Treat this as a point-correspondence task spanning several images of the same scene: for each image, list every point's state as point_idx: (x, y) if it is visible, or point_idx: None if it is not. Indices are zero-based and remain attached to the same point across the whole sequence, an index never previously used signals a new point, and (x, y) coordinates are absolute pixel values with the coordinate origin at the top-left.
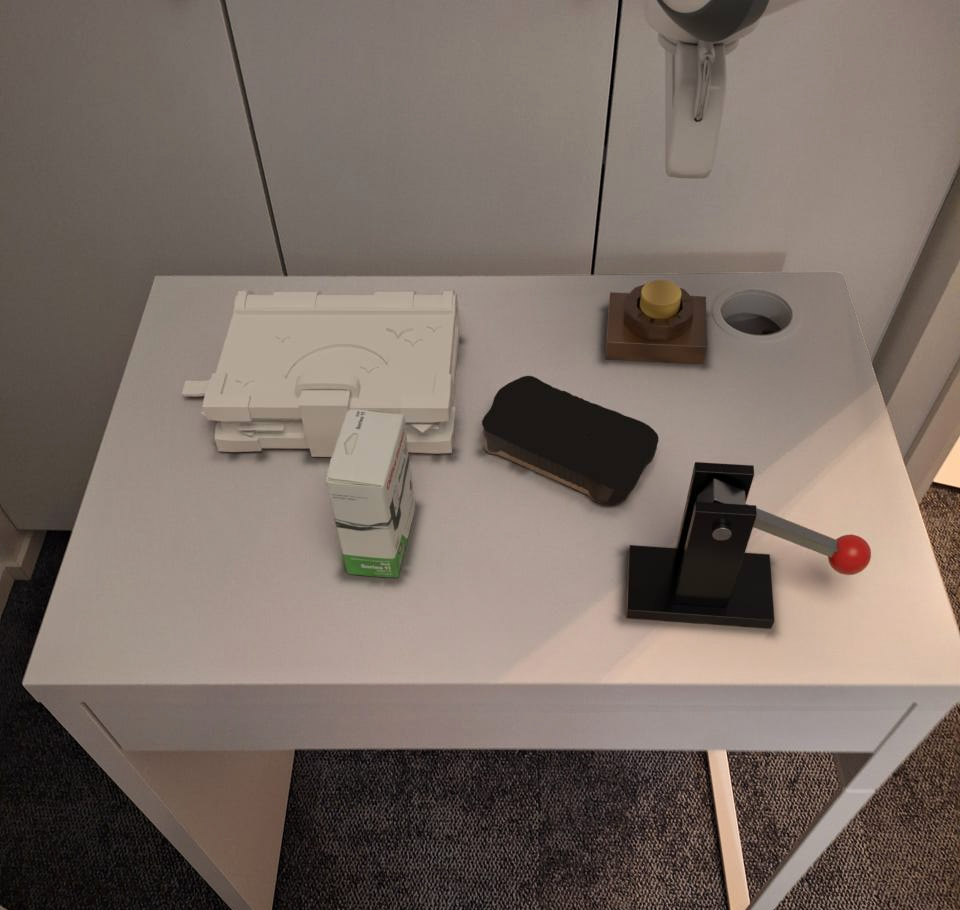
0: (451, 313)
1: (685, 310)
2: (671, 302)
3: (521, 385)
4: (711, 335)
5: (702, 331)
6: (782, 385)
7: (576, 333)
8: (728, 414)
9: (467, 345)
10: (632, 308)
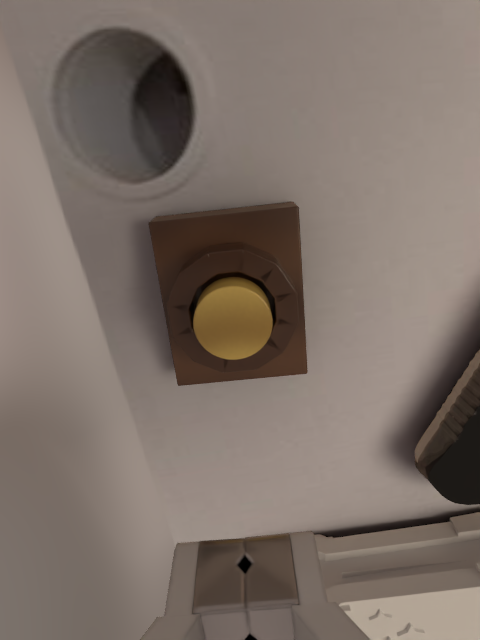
0: (349, 606)
1: (243, 265)
2: (263, 302)
3: (447, 479)
4: (212, 194)
5: (256, 219)
6: (333, 39)
7: (248, 404)
8: (419, 145)
9: (297, 524)
10: (254, 358)
